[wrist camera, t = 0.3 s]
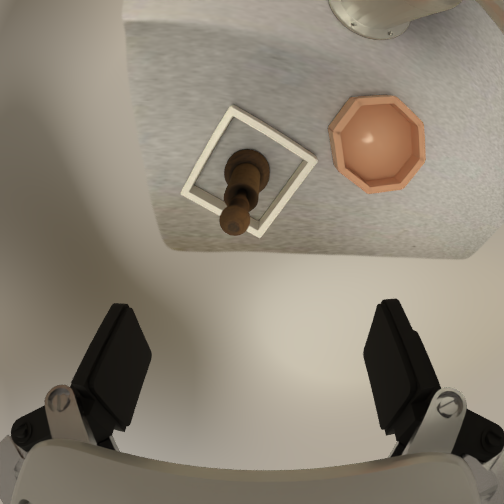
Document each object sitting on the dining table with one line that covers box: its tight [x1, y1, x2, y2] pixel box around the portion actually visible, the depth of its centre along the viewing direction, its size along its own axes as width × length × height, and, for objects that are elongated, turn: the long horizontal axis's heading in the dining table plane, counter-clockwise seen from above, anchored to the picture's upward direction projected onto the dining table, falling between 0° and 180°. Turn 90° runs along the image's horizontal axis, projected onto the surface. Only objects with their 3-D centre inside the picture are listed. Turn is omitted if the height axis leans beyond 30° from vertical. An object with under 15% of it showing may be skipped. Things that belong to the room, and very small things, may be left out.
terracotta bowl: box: [328, 95, 426, 194], centre depth 36 cm, size 14×14×4 cm
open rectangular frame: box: [180, 105, 318, 238], centre depth 41 cm, size 15×14×3 cm
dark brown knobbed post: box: [220, 149, 270, 236], centre depth 35 cm, size 7×6×18 cm
